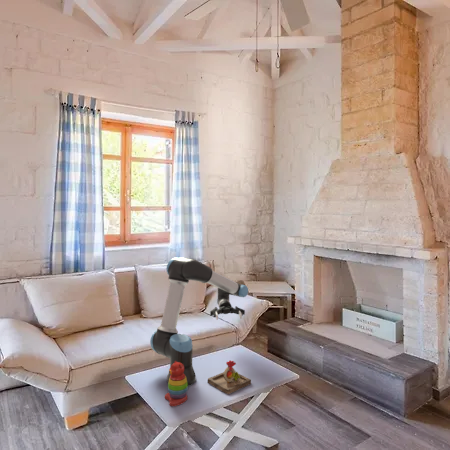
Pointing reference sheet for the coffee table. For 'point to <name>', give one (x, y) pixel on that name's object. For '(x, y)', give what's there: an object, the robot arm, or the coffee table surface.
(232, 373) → the bird rattle
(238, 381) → the walnut plate
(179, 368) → the stacking bear
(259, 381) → the coffee table surface
